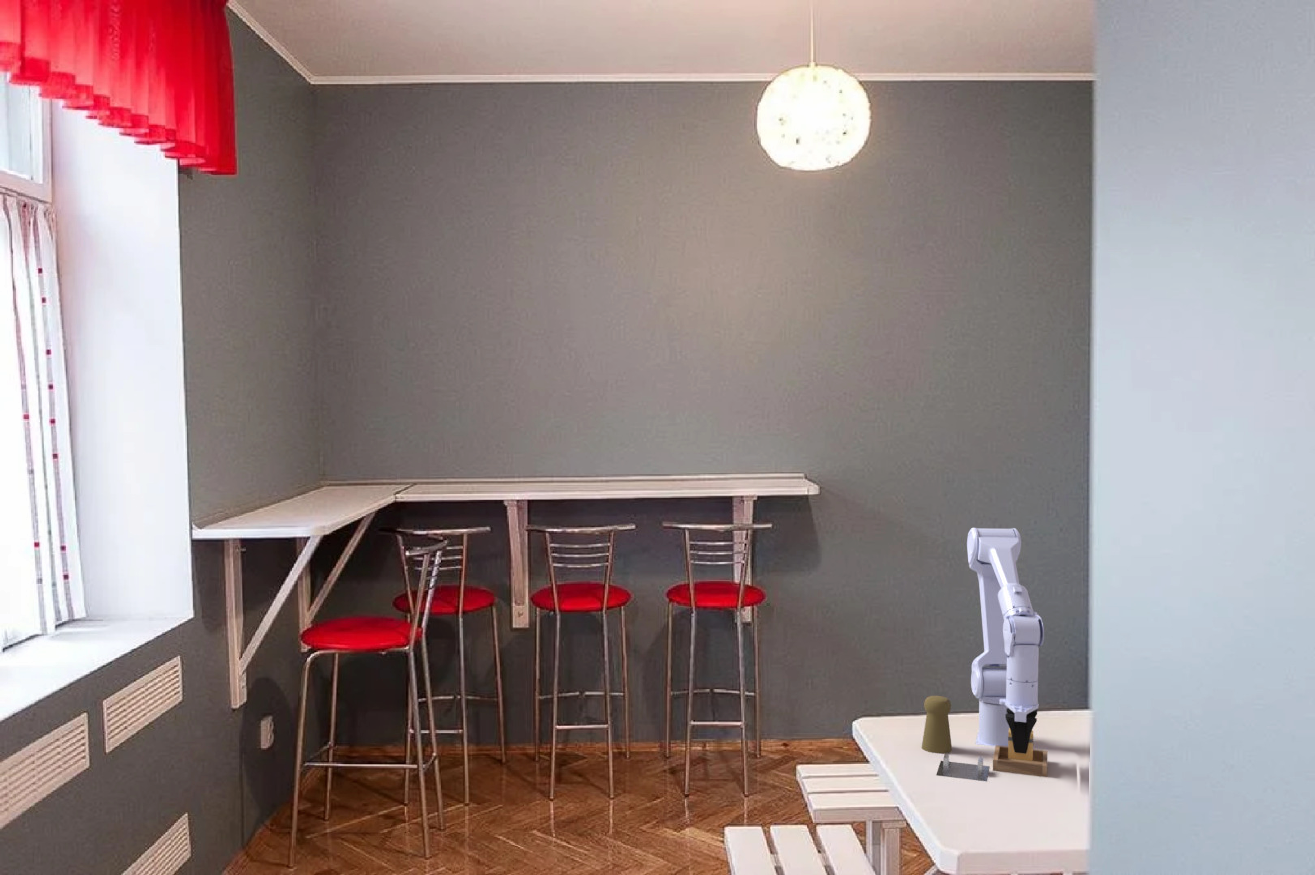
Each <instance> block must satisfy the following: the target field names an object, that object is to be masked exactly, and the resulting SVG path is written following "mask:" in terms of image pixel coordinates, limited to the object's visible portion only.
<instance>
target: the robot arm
mask: <svg viewBox="0 0 1315 875" xmlns="http://www.w3.org/2000/svg"><path fill="white" fill-rule="evenodd" d="M966 547H967V548H966V549H967V560H968V566H969V569H970V570H971V571H974V572H975V573H976V574H977V579H978V586H979V597H980V598H979V599H980V600H979V602H980V609H981V625H982V637H983V652H982V653H980V654H979V655H978V656H977V657H975V658H974V659H973V661H972V663H971V674H970V684H971V685H970V686H971V691H972V693H973V696H975V698H976V699H978V702H979V703H978V705H979V706H978V732H977V734H976V735H977V736H976V740H975V745H980V746H988V747H995V746H996V745H997V746H1007V747H1008V733H1009V728H1010V731H1011V735H1012V741H1013V747H1014V751H1015V752H1016V753H1025V754H1026V752H1027V749H1028V744H1029V739H1030V735H1031V731H1033V729H1034V727H1035V726H1036V723H1037V721H1038V718H1037V715H1038V709H1039V705H1040V704H1039V702H1038V700H1039V699H1038V696H1039V695H1038V694H1039V658H1040V656H1039V655H1040V654H1039V653H1040V652H1039V651H1040V650H1039V649H1040V648H1039V647H1041V646H1042V645H1043V643H1044V638H1045V628H1044V623H1043V619H1042V617H1041V616H1040V615H1039V614H1038V612H1037V611H1034V609H1033V604H1032V602H1031V599H1030V595H1029V592H1028V589H1027V588H1026V587H1025V586H1024V585H1021V584H1020V579H1019V575H1018V574H1019V573H1018V569H1017V561H1018V560H1019V559H1018V558H1019V556H1020V553H1021V549H1022V537H1021V534H1020V532H1019V531H1018V529H1017V528H1015V527H1011V528H983V527H982V528H978V527H972V528H970V530H969V531H968V533H967V540H966Z"/></svg>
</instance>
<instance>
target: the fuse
mask: <svg viewBox="0 0 1315 875" xmlns="http://www.w3.org/2000/svg"><path fill="white" fill-rule="evenodd" d="M1033 749H1034V730H1032V731H1031V735H1030V739H1029V744H1028V749H1027V752H1026V754H1025V753H1016V752H1015V751H1014V747H1013V741H1012V735H1011V731H1010V728H1009V733H1008V758H1009V759H1018V760H1027V761H1033Z"/></svg>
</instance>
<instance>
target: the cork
mask: <svg viewBox="0 0 1315 875" xmlns="http://www.w3.org/2000/svg"><path fill="white" fill-rule="evenodd" d="M923 705H924V706H923V707H924V710H925V712H926V717H925V722H924V730H923V736H922V738H923V739H922V743H921V749H922V750H923V751H925V752H928V753H932V754H945V753H946V754H949V753H951V752H952V751H953V748H952V747H953V746H952V738H951V730H950V719H949V714H950V712H951V709H952V704H951V701H950V699H949V698H948V697H945V696H942V695H941V696H940V695H929V696H928V697H926V698H925V700H924V703H923Z"/></svg>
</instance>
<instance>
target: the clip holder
mask: <svg viewBox="0 0 1315 875" xmlns="http://www.w3.org/2000/svg"><path fill="white" fill-rule="evenodd" d="M989 770H990V766H989V765H984V757H978V760H977V764H973V763H965V762H957V761H950V754H949V753H944V755H943V759H942V760H940V763H939V765H938V769H937V772H936V774H935V776H937V777H938V776H939V777H945V778H946V777H947V778H955V779H964V780H971V781H978V782H979V781H980V782H988V777H989Z"/></svg>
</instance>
